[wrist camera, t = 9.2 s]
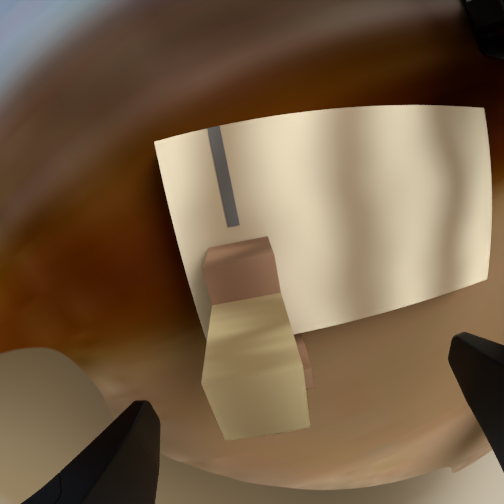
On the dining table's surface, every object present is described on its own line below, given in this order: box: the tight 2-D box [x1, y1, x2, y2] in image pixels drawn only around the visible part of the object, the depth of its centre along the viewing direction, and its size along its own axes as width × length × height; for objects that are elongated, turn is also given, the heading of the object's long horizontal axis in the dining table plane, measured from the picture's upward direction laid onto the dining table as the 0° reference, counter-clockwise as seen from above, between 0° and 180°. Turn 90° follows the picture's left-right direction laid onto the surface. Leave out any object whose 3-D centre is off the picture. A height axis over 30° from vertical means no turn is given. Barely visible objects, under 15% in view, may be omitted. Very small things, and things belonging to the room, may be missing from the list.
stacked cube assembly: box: [201, 236, 315, 441], centre depth 14 cm, size 5×8×10 cm, turn 11°
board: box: [154, 105, 492, 341], centre depth 17 cm, size 20×12×3 cm, turn 101°
